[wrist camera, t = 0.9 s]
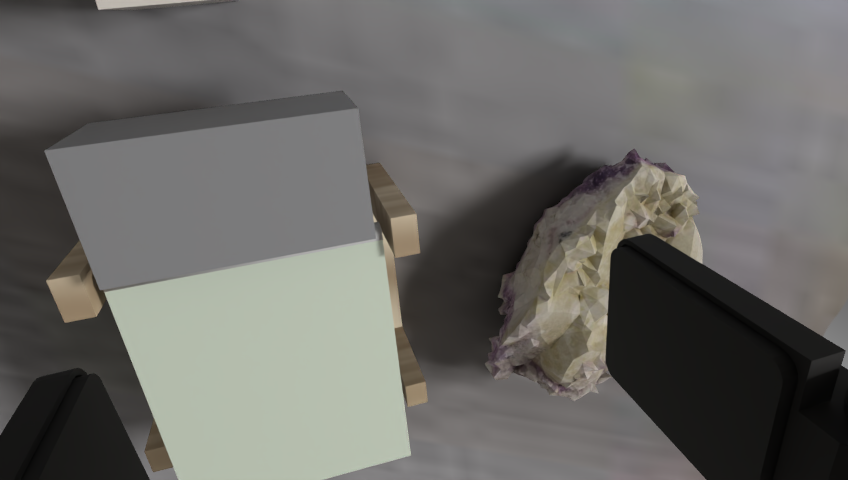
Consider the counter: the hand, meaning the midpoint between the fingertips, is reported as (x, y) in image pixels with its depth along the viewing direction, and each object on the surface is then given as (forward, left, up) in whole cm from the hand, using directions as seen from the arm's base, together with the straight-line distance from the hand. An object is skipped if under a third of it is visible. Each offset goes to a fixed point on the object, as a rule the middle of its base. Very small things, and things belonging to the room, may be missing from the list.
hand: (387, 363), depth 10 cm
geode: (+13, +17, -23) cm, 32 cm away
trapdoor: (+8, -4, -18) cm, 20 cm away
